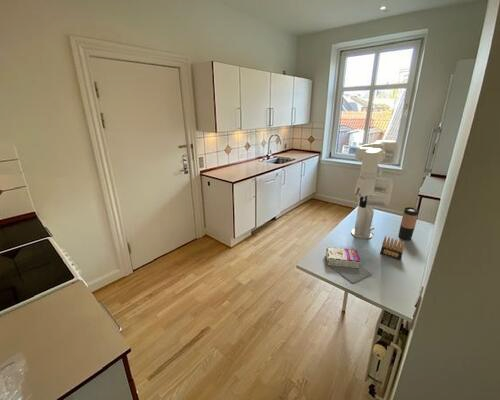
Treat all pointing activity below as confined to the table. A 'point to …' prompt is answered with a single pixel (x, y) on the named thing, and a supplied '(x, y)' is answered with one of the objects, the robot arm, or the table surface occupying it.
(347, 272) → the mat
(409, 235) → the travel mug
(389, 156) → the robot arm
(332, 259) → the candy bar box
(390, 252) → the ammunition clip
